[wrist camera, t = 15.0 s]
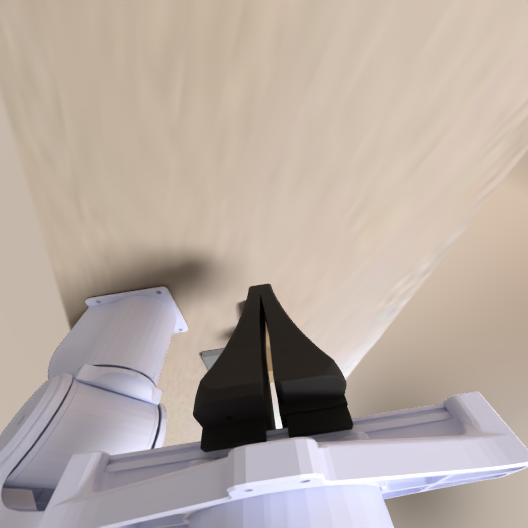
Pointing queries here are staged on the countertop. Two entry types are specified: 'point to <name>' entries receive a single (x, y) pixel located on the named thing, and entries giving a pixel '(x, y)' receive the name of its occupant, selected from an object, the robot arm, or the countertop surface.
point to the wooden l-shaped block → (269, 357)
